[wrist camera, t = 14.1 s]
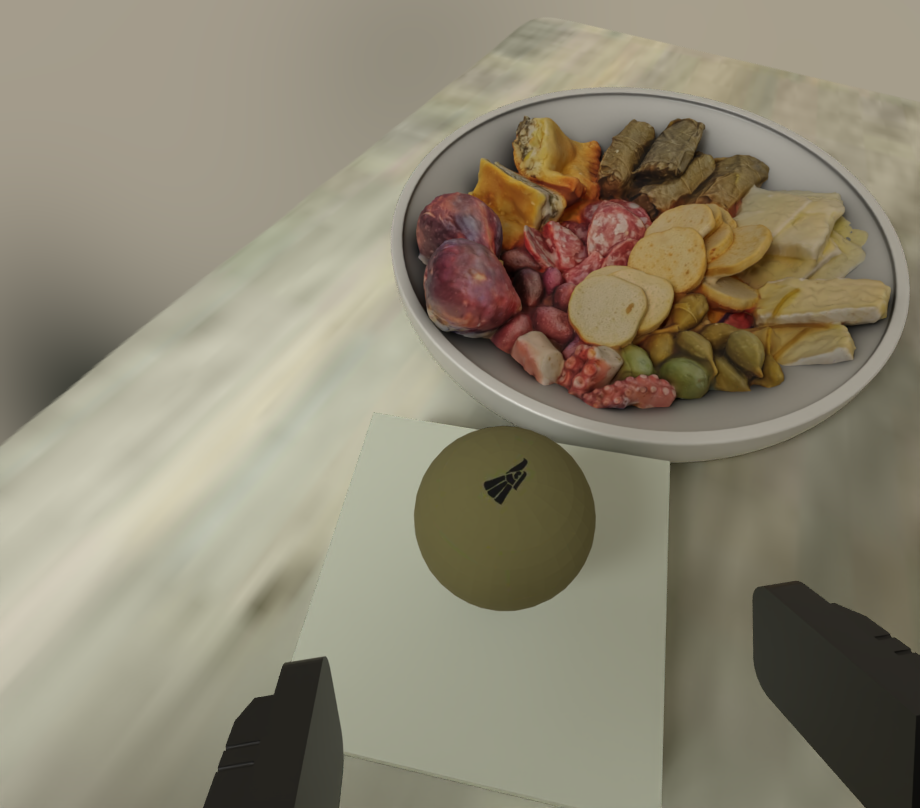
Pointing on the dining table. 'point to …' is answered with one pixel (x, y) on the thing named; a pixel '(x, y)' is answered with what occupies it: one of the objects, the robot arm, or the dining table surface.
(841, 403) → the bowl
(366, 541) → the block
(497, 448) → the light bulb
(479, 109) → the dining table surface
